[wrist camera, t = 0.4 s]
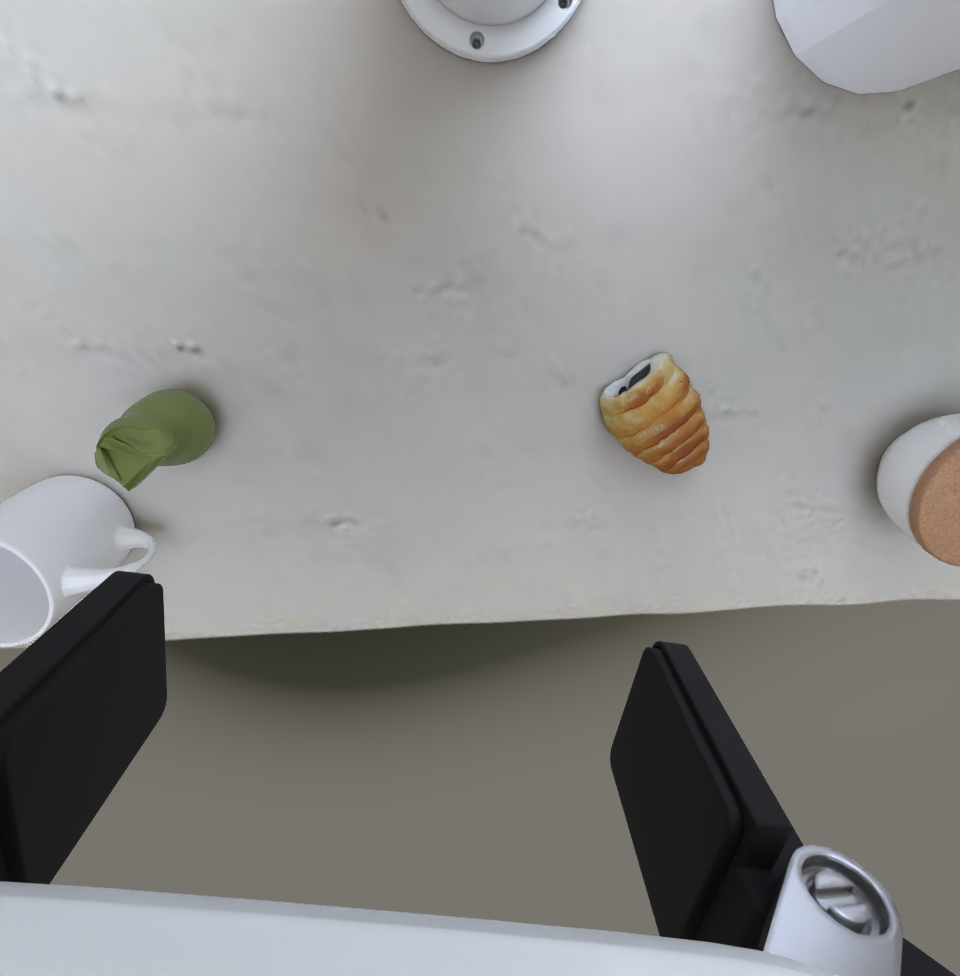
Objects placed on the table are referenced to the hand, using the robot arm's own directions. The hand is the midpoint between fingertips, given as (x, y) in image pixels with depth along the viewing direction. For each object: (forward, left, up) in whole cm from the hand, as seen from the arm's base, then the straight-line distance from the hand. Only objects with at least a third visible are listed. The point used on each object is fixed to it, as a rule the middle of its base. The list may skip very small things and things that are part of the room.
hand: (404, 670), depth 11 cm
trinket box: (+2, +38, -34) cm, 52 cm away
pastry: (+1, +16, -34) cm, 38 cm away
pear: (+7, -19, -34) cm, 40 cm away
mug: (+17, -26, -34) cm, 46 cm away
